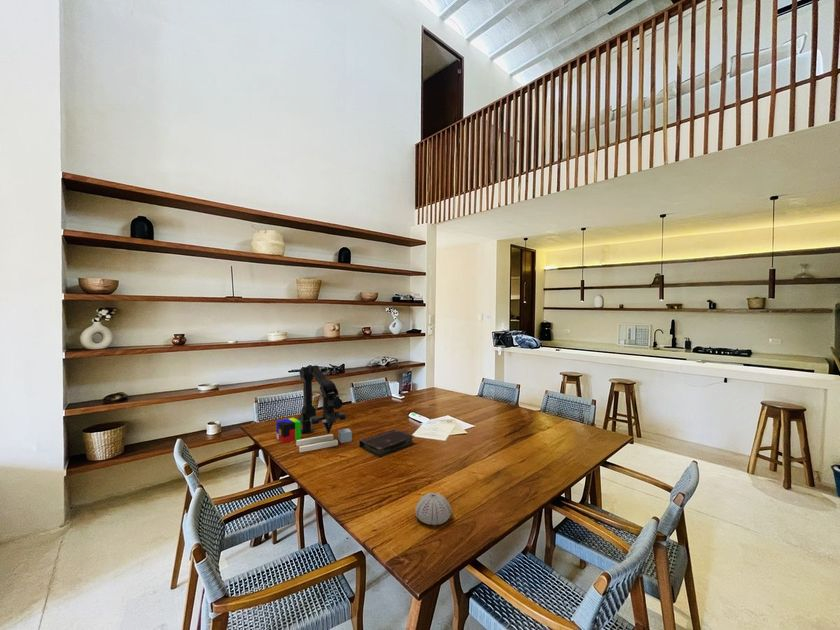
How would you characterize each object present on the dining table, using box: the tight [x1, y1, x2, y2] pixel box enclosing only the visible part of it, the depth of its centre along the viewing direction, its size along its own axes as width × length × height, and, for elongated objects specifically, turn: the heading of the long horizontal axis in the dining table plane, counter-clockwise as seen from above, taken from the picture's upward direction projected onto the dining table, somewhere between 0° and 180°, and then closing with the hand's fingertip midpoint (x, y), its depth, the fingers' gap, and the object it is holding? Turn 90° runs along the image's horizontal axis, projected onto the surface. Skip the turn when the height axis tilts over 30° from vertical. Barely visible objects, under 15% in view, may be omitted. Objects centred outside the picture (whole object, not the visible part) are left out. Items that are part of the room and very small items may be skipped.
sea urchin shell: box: [414, 492, 452, 526], centre depth 125 cm, size 13×14×8 cm
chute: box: [295, 433, 339, 453], centre depth 189 cm, size 12×20×2 cm, turn 119°
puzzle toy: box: [275, 417, 302, 444], centre depth 198 cm, size 10×10×10 cm
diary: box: [358, 428, 416, 458], centre depth 189 cm, size 19×25×5 cm
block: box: [337, 428, 353, 444], centre depth 196 cm, size 6×6×6 cm
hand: (328, 433), depth 192 cm, fingers closed
